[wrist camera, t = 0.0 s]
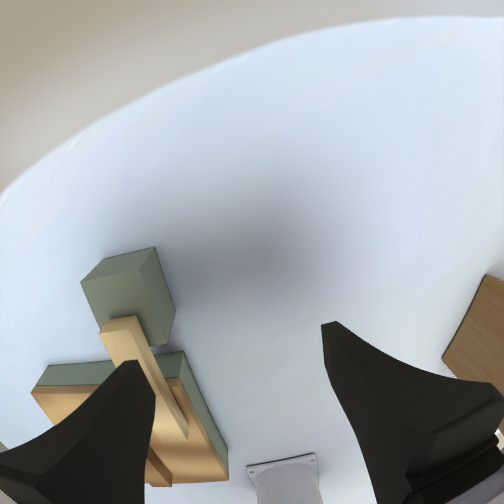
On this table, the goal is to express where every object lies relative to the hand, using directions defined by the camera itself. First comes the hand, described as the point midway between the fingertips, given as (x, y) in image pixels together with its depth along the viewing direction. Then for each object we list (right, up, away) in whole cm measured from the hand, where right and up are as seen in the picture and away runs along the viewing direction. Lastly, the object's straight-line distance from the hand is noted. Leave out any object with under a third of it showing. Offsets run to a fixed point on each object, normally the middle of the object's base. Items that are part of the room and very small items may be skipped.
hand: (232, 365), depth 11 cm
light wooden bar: (-6, -4, +7) cm, 10 cm away
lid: (-10, -12, +11) cm, 19 cm away
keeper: (-7, +2, +9) cm, 12 cm away
